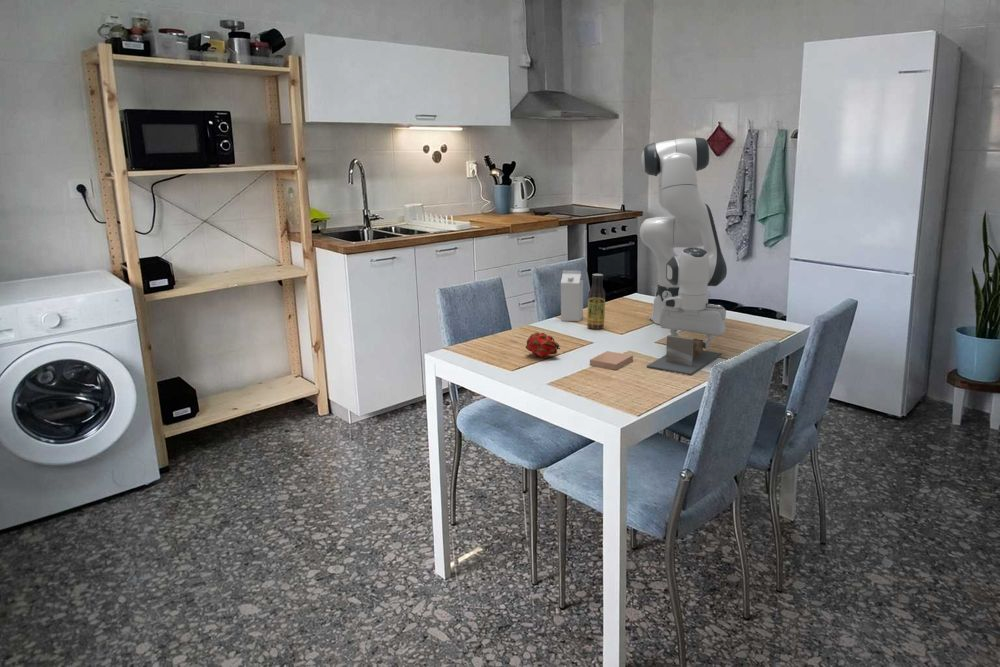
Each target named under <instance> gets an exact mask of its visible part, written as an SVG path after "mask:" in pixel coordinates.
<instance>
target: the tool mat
mask: <svg viewBox="0 0 1000 667" xmlns="http://www.w3.org/2000/svg"><path fill="white" fill-rule="evenodd" d="M721 355H722V356H723V353H722V352H716V351H709V350H704V349H703V352H702V353H700V354H699V355H697V356H696V357H694V358H693V362H692V365H691V366H690V365H685V364H679V363H673V362H667V361H666V354H665V355H663V356H662V357H660V358H657V359H656V360H655V361H653V362H651V363H649V364H647V365H646V368H647V367H648V368H647V369H652V368H654V369H653V370H657V369H659V370H658V371H663V370H665V371H664V372H668V371H670V373H674V372H676V373H675V374H679V373H682V374H681V375H685V374H687V376H690V375H691V376H693V375H694V374H695V373H698V372H699V371H700V370H702V369H703V368H705V367H706V366H708V365H709V364H711V363H713V362H714V361H715V360H717V359H719V358H720V357H722V356H721ZM719 356H720V357H719ZM718 357H719V358H718ZM692 374H693V375H692Z"/></svg>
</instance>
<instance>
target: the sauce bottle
mask: <svg viewBox="0 0 1000 667" xmlns="http://www.w3.org/2000/svg"><path fill="white" fill-rule="evenodd" d="M591 279H592V282H591V283H592V284H591V287H590V289H589V291H588V298H587V316H586V317H587V319H586V323H587V325H586V326H587V329H593V330H597V329H598V330H601V329H603V328H604V325H605V314H606V291H605V289H604V287H603V283H604V281H603V280H604V274H602V273H592V275H591Z"/></svg>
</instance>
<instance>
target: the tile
mask: <svg viewBox="0 0 1000 667" xmlns="http://www.w3.org/2000/svg"><path fill="white" fill-rule="evenodd" d="M631 361H632V362H633V361H634V355H633V354H627V353H620V352H616V351H615V352H614V351H608V350H606V351H605V352H602V353H601V354H598V355H597V356H594V357H593V358H590V359H589V366H590V365H591V366H590V367H595V366H596V368H601V367H602V369H606V368H608V369H607V370H612V369H614V370H613V371H618V370H620V369H621V368H623V367H624V365H625V366H627V365H628V364H630V363H632V362H631ZM629 362H630V363H629ZM626 364H627V365H626ZM622 366H623V367H622ZM617 369H618V370H617Z"/></svg>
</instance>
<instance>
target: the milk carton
mask: <svg viewBox="0 0 1000 667" xmlns="http://www.w3.org/2000/svg"><path fill="white" fill-rule="evenodd" d="M583 316H584V279H583V276H582V270H562V275H561V280H560V321H562V322H563V321H564V322H565V321H566V322H580V321H581V320H582V319H583Z"/></svg>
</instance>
